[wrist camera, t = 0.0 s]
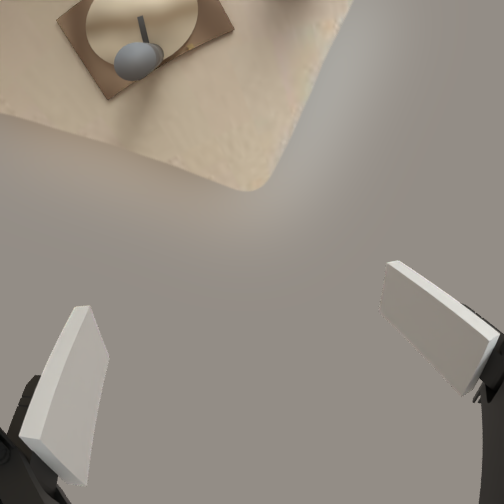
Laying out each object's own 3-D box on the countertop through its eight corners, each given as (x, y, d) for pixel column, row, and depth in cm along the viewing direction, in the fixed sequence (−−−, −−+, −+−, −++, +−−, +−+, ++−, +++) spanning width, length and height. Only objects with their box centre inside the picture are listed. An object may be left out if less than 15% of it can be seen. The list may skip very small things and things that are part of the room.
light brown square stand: (184, -54, 17) (184, -59, 16) (233, 30, 26) (236, 29, 24) (58, 20, 19) (52, 19, 18) (109, 98, 28) (105, 101, 26)
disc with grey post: (79, -6, 17) (33, -22, 8) (187, -41, 18) (192, -80, 9) (103, 86, 26) (66, 109, 17) (207, 53, 26) (221, 57, 18)
